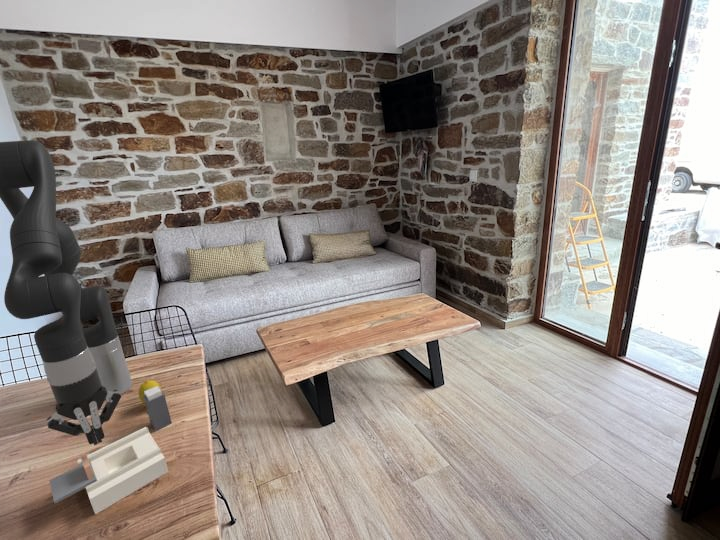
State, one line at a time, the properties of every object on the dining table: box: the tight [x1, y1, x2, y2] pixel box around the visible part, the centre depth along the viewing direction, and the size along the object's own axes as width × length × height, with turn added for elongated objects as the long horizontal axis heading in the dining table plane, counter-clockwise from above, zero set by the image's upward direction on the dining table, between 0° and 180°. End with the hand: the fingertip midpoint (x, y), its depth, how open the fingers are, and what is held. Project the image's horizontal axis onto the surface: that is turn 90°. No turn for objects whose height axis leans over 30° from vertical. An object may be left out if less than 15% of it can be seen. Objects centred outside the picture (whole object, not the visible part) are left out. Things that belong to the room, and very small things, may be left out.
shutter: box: [49, 452, 97, 505], centre depth 76 cm, size 7×7×4 cm
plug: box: [143, 386, 173, 432], centre depth 97 cm, size 4×4×10 cm
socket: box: [77, 426, 169, 515], centre depth 83 cm, size 14×14×5 cm
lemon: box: [138, 379, 162, 405], centre depth 105 cm, size 6×6×8 cm
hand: (97, 441), depth 79 cm, fingers closed
